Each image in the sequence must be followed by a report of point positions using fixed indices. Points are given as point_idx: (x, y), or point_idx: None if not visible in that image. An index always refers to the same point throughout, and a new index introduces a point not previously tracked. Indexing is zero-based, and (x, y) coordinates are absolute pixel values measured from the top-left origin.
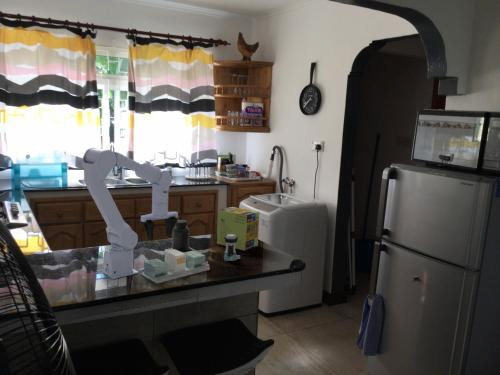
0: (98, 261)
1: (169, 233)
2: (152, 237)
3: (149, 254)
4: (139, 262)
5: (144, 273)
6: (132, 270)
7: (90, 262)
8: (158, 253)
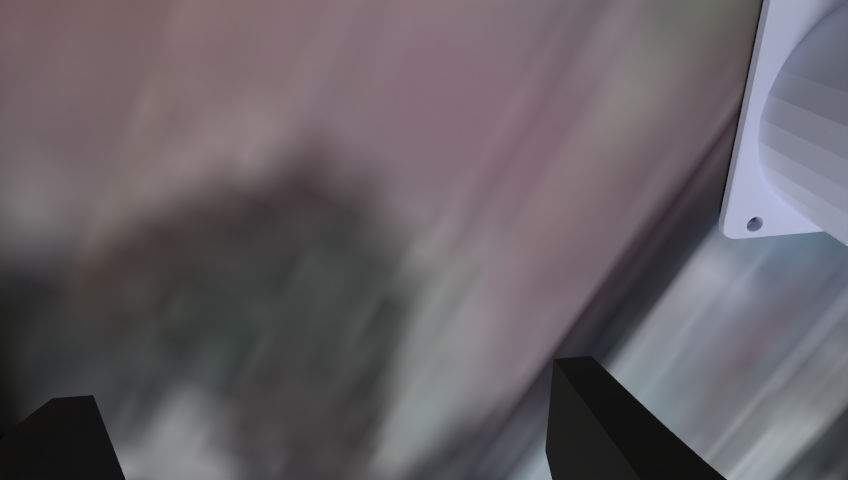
0: (783, 465)
1: (34, 475)
2: (593, 397)
3: (321, 451)
4: (528, 301)
5: None
6: (843, 17)
7: (841, 469)
8: (223, 443)
